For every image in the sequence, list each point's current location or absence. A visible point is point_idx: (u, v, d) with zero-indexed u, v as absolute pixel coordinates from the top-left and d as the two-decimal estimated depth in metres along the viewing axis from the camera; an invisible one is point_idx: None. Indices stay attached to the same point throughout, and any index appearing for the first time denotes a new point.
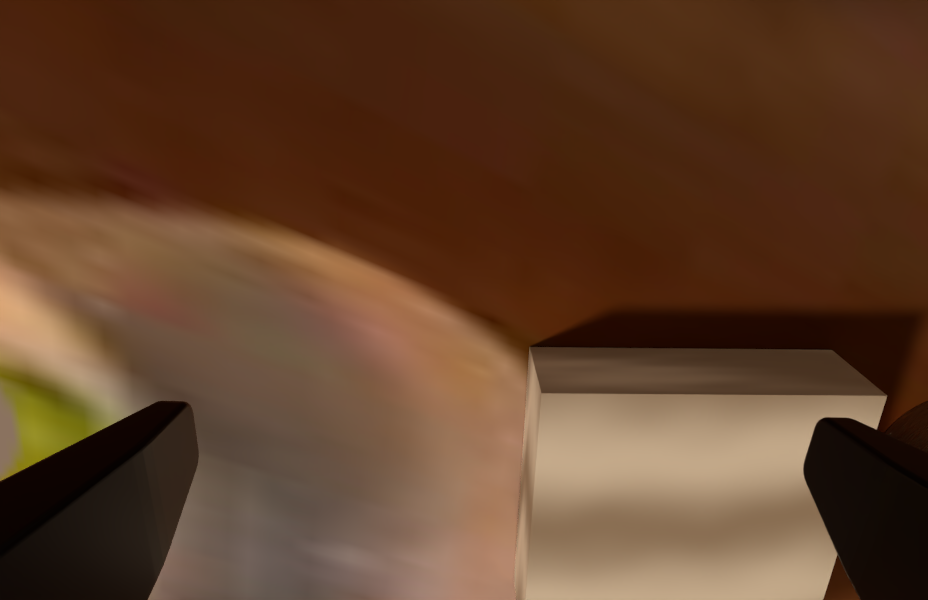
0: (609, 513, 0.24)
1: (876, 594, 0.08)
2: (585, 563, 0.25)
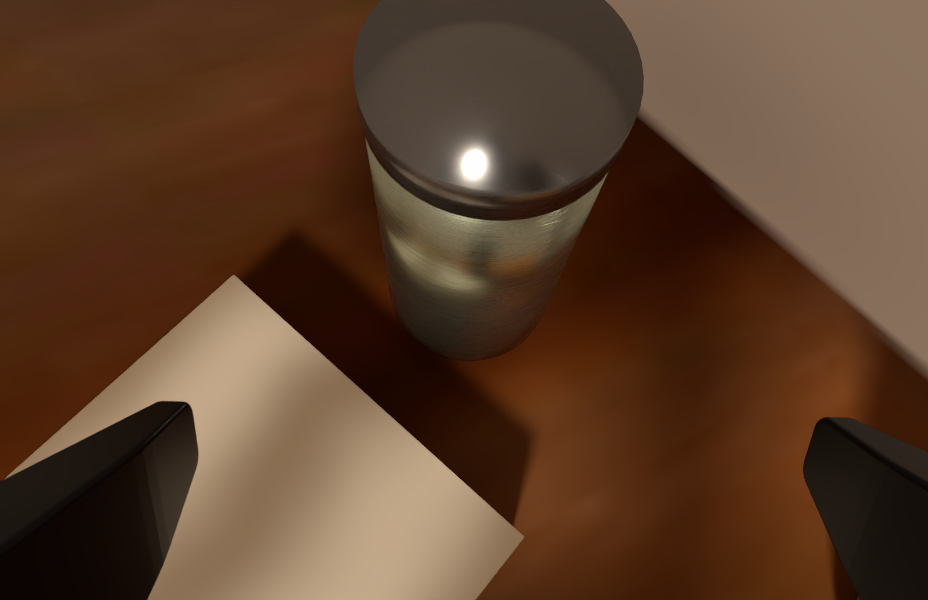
0: None
1: (876, 594, 0.08)
2: None
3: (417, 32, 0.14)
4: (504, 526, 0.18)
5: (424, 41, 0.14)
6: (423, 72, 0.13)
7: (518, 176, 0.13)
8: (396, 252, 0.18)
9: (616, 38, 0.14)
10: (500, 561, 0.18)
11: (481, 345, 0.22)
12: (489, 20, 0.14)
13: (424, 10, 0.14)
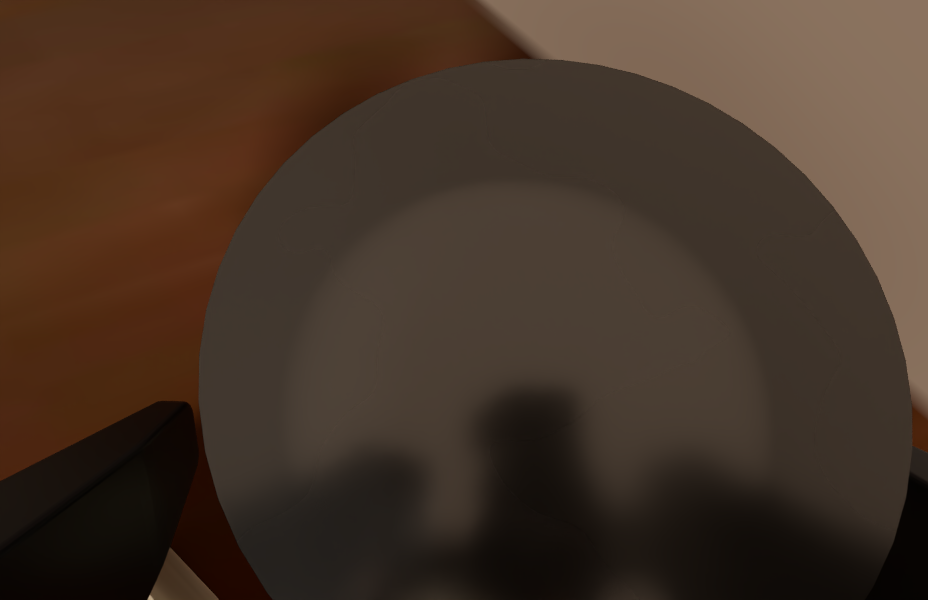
0: None
1: (876, 594, 0.08)
2: None
3: (363, 250, 0.06)
4: None
5: (379, 273, 0.06)
6: (374, 363, 0.05)
7: None
8: None
9: (826, 256, 0.06)
10: None
11: None
12: (532, 214, 0.06)
13: (382, 191, 0.06)
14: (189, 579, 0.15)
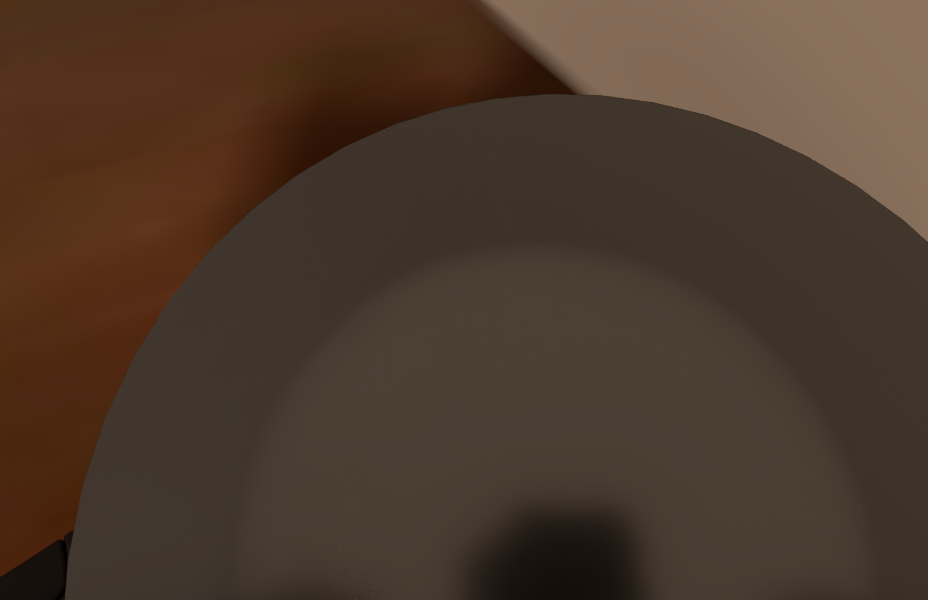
0: None
1: None
2: None
3: (321, 383, 0.04)
4: None
5: (344, 420, 0.04)
6: (333, 569, 0.04)
7: None
8: None
9: None
10: None
11: None
12: (566, 325, 0.04)
13: (350, 290, 0.04)
14: None
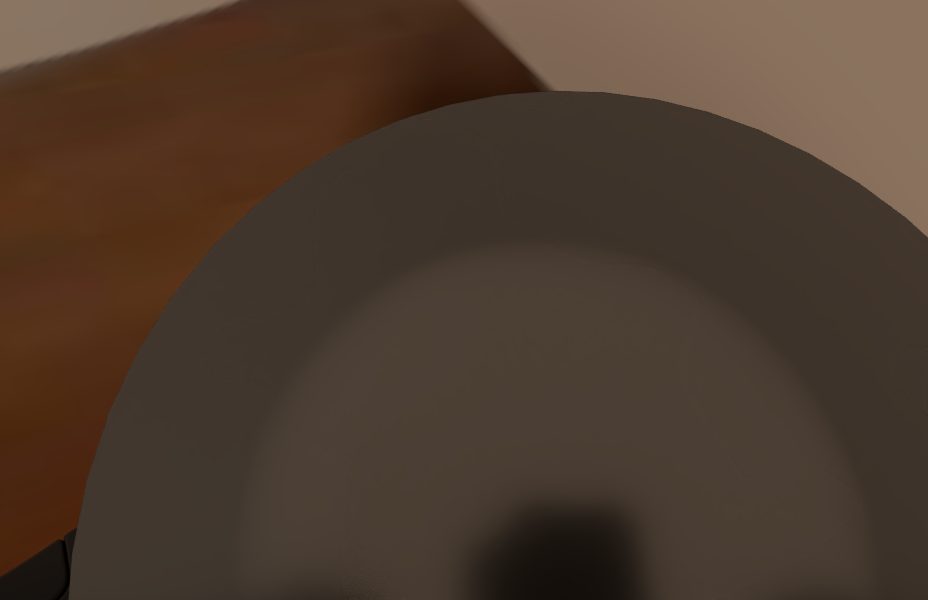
0: None
1: None
2: None
3: (325, 378, 0.04)
4: None
5: (346, 413, 0.04)
6: (337, 562, 0.04)
7: None
8: None
9: None
10: None
11: None
12: (569, 321, 0.04)
13: (352, 287, 0.04)
14: None
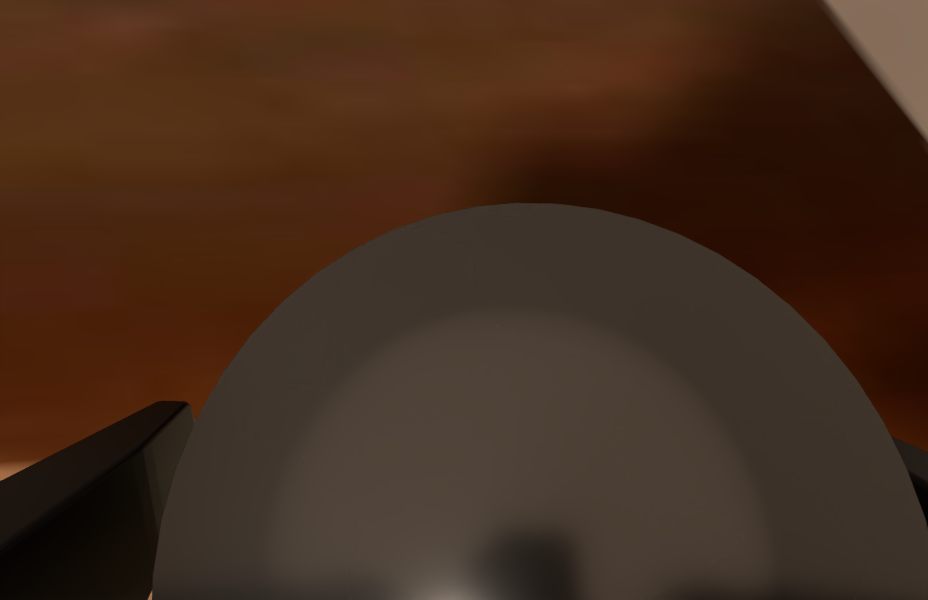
0: None
1: None
2: None
3: (337, 441, 0.05)
4: None
5: (354, 469, 0.05)
6: (347, 582, 0.05)
7: None
8: None
9: (849, 440, 0.05)
10: None
11: None
12: (524, 394, 0.05)
13: (358, 369, 0.05)
14: None
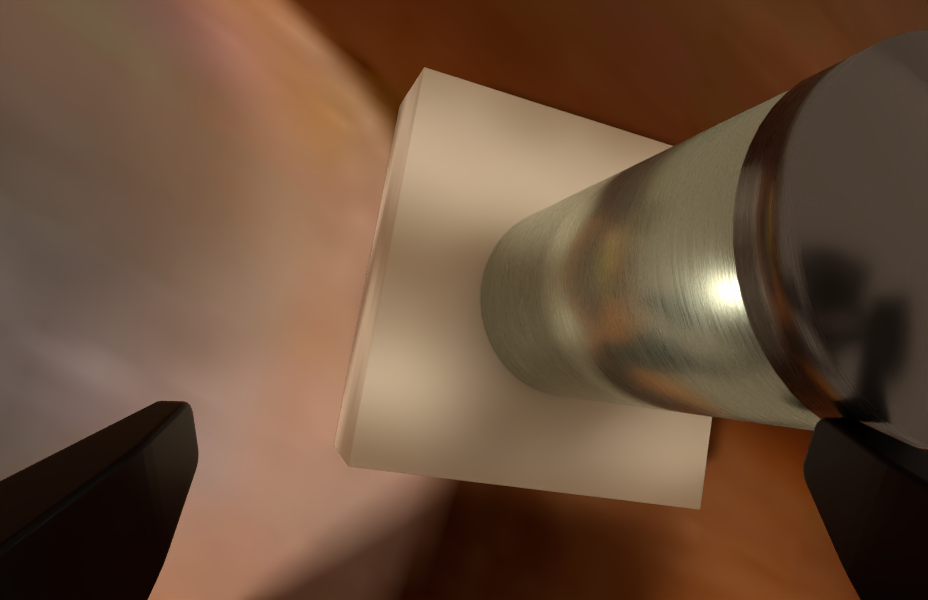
0: (483, 253, 0.20)
1: (876, 594, 0.08)
2: (450, 325, 0.19)
3: (917, 114, 0.09)
4: (698, 490, 0.22)
5: (917, 132, 0.09)
6: (891, 173, 0.09)
7: (899, 402, 0.09)
8: (592, 269, 0.13)
9: None
10: (677, 503, 0.22)
11: (548, 384, 0.18)
12: None
13: None
14: None
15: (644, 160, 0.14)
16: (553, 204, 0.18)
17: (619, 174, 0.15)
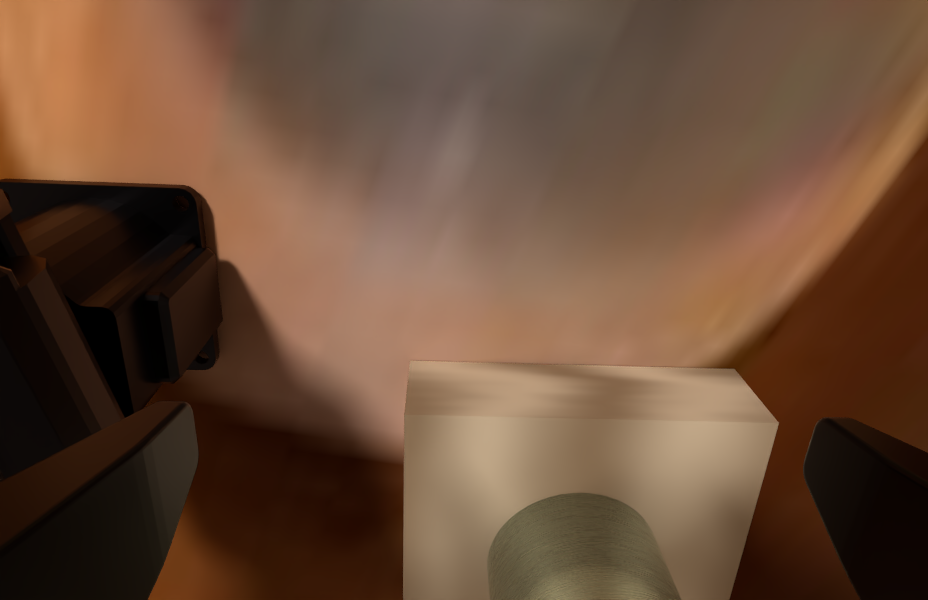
0: (608, 492, 0.22)
1: (876, 594, 0.08)
2: (539, 474, 0.21)
3: None
4: None
5: None
6: None
7: None
8: None
9: None
10: None
11: (500, 576, 0.21)
12: None
13: None
14: None
15: None
16: (662, 564, 0.20)
17: None
